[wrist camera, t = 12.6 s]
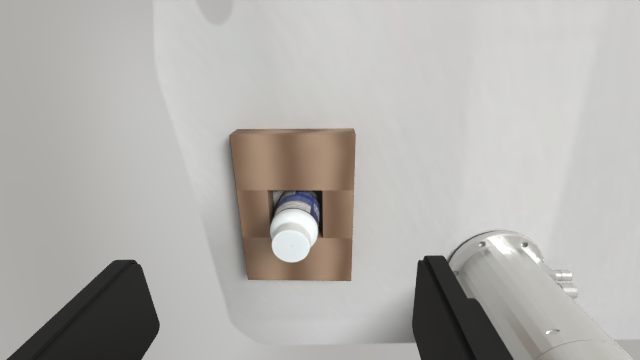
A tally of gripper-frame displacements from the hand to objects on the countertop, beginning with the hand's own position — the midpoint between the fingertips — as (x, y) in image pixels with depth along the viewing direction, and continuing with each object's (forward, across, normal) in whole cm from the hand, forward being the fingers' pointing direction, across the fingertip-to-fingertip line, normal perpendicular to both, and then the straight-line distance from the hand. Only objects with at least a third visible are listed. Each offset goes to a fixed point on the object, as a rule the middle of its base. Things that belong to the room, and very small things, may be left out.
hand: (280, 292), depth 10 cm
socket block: (+28, +3, +10) cm, 30 cm away
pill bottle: (+28, +3, +10) cm, 30 cm away
